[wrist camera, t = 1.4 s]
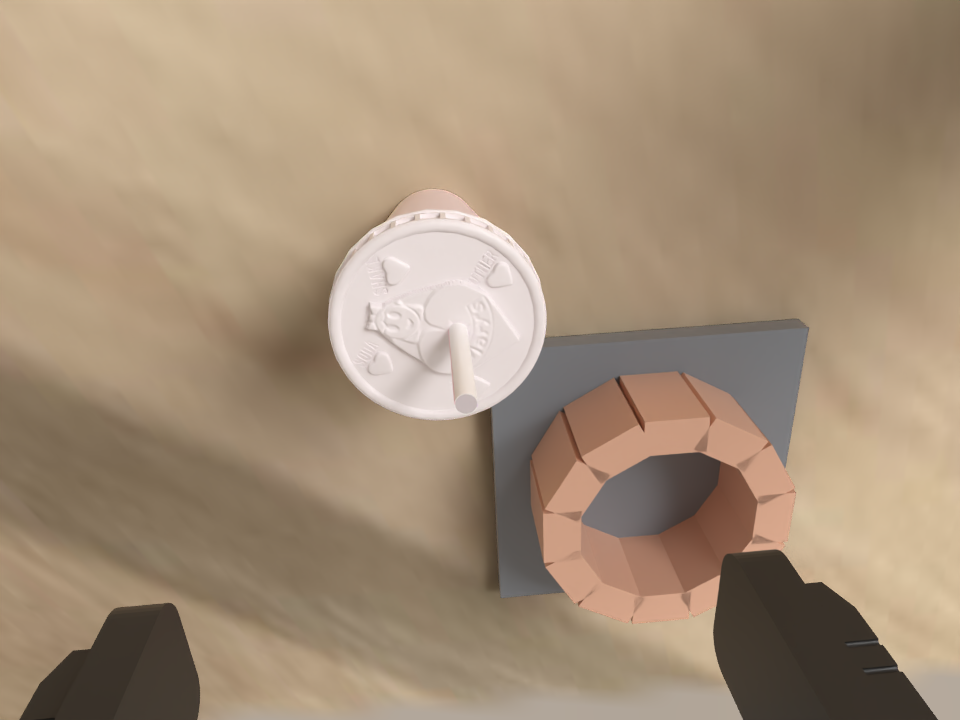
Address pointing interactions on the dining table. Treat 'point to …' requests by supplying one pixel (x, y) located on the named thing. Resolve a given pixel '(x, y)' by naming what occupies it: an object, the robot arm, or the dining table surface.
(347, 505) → the dining table surface
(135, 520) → the dining table surface
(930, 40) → the dining table surface
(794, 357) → the collar
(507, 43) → the dining table surface
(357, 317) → the smoothie
